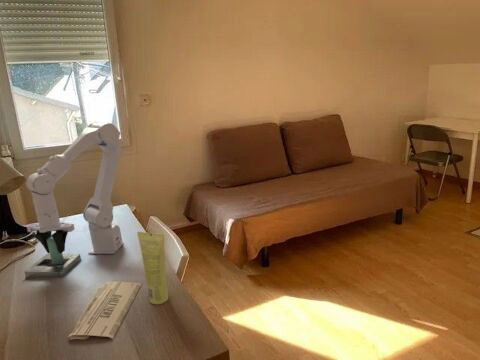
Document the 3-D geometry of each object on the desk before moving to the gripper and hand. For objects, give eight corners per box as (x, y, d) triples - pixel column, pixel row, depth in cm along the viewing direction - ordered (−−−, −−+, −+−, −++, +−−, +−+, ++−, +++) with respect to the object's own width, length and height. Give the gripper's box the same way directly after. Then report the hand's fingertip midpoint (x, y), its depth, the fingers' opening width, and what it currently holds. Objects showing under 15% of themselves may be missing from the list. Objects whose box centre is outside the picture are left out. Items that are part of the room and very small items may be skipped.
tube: (168, 291, 99) (159, 226, 93) (173, 300, 95) (164, 233, 89) (147, 297, 97) (137, 231, 91) (151, 307, 92) (141, 239, 87)
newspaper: (100, 287, 104) (99, 280, 103) (142, 290, 104) (141, 282, 103) (59, 344, 82) (57, 335, 81) (111, 348, 82) (110, 339, 81)
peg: (65, 258, 115) (60, 235, 113) (59, 263, 112) (54, 240, 110) (56, 258, 116) (50, 235, 113) (49, 263, 113) (43, 240, 110)
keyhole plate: (81, 259, 120) (79, 254, 119) (61, 277, 109) (60, 272, 109) (48, 259, 121) (46, 253, 121) (25, 277, 111) (24, 271, 110)
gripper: (15, 217, 106) (26, 257, 110) (61, 216, 104) (70, 258, 108) (31, 208, 113) (41, 246, 117) (74, 207, 111) (82, 247, 115)
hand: (56, 251), depth 113 cm, fingers closed on peg, 3 cm apart
